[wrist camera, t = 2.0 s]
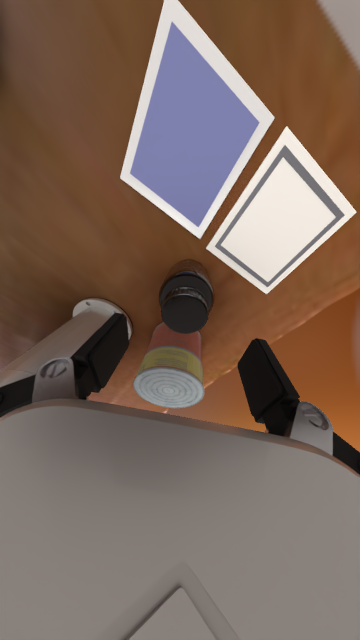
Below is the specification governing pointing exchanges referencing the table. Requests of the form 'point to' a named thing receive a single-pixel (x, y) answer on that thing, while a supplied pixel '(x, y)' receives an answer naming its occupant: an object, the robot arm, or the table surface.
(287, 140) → the marked card
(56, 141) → the table surface
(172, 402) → the canned food
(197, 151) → the ink pad
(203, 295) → the supplement bottle
